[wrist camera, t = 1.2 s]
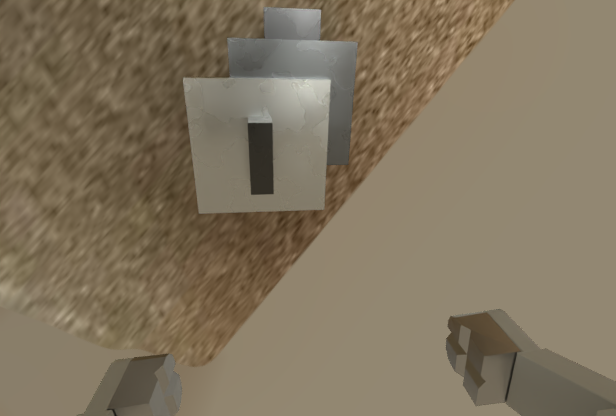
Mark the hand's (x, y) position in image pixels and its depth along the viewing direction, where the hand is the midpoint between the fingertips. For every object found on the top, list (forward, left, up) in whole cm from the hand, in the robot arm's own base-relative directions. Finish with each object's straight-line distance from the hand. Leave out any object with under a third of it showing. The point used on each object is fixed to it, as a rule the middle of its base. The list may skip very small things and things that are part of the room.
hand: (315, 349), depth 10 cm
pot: (-4, +1, -27) cm, 27 cm away
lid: (-1, -1, -19) cm, 19 cm away
